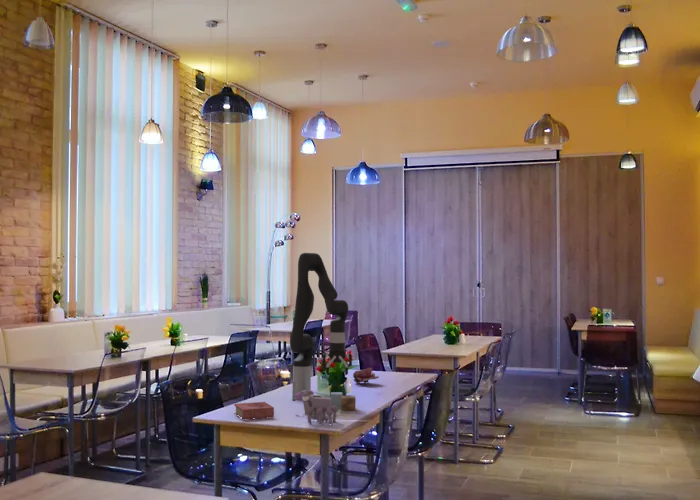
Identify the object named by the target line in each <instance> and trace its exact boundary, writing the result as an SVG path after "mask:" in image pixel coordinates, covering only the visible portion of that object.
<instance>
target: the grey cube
mask: <svg viewBox="0 0 700 500" xmlns="http://www.w3.org/2000/svg"><path fill="white" fill-rule="evenodd" d="M341 396H344V394H343V392H341V391H340V392H339V391H338V392H337V391H336V392H335V391H334V392H333V391H332V392H330V398H332V407H333V406H337V407H341Z"/></svg>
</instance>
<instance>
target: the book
mask: <svg viewBox="0 0 700 500" xmlns="http://www.w3.org/2000/svg"><path fill="white" fill-rule="evenodd" d="M234 407H235V412H234V415H235V414H236V415H239V416H240V417H242V419H252V420H254V419H253V418H264V419H265V418H266V419H268V418H267V417H274V418H275V406H273V405H271V404H269V403H267V402H266V401H258V402H257V401H256V402H243V403H241V402H240V403H234ZM236 415H235V416H236ZM242 419H241V420H242Z"/></svg>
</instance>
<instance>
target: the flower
mask: <svg viewBox="0 0 700 500" xmlns="http://www.w3.org/2000/svg"><path fill="white" fill-rule="evenodd" d="M352 374H353V377H352V378H353V381H354V382H355V384H359V385H361V383H362V382H363V383H364V385H366V383H367V384H369V380H376V379H377V380H378V379H379V378H380V376H378V375H377V376H376V373H374V372H373V368H372V367H367V368H363V369H361V370H359V369H358V370H355V371H354V373H352Z"/></svg>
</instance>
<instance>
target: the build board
mask: <svg viewBox="0 0 700 500" xmlns="http://www.w3.org/2000/svg"><path fill="white" fill-rule="evenodd" d="M336 413H357V410H356V409H355V411H341V407H338V411H337V412H336Z"/></svg>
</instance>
